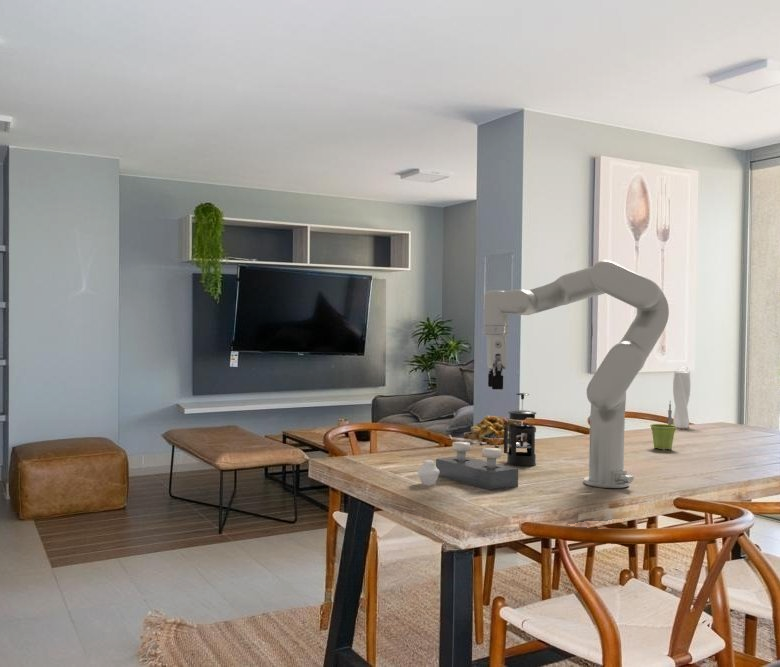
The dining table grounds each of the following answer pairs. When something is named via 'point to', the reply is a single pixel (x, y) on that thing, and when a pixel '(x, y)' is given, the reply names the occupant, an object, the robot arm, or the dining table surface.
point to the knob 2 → (491, 456)
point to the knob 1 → (461, 450)
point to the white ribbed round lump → (428, 473)
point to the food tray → (491, 431)
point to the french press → (521, 457)
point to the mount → (478, 473)
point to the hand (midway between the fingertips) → (495, 388)
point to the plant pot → (663, 435)
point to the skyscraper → (680, 399)
